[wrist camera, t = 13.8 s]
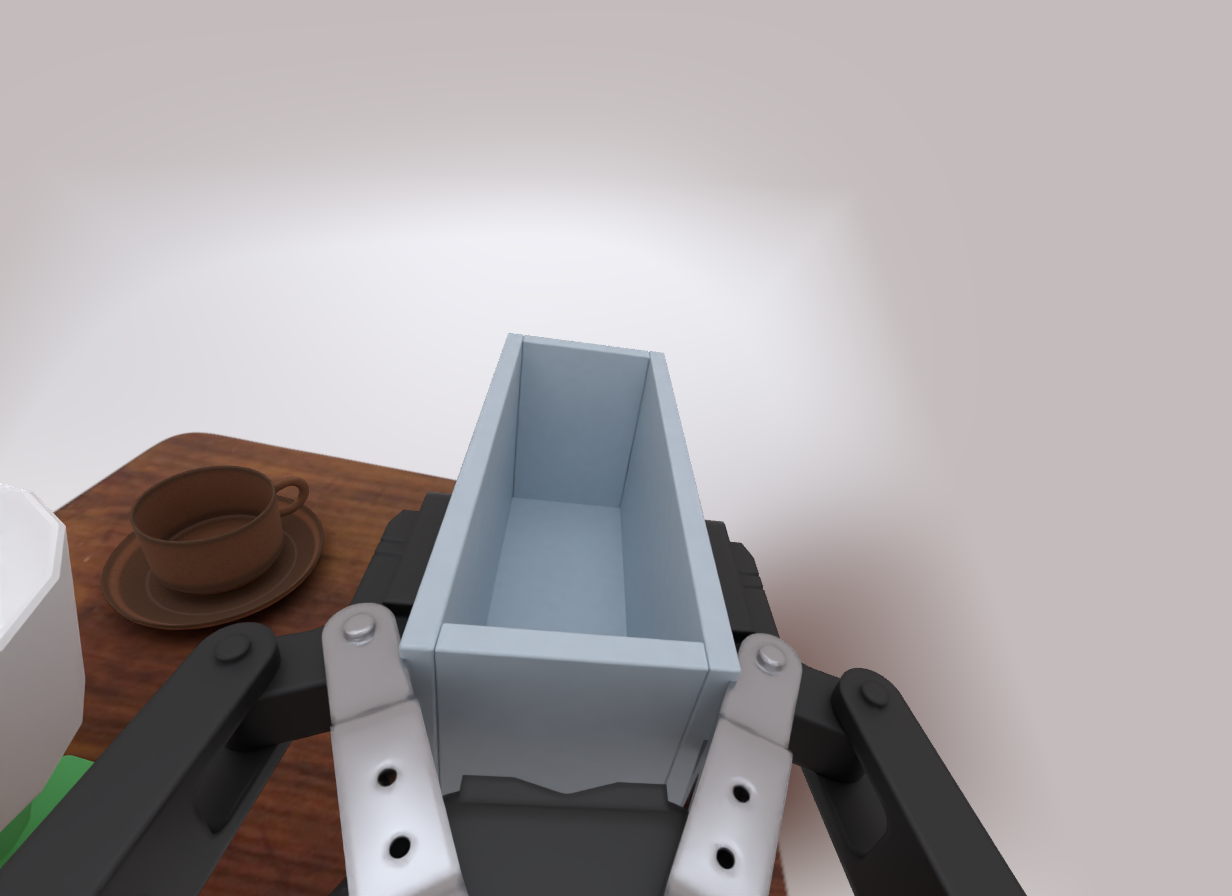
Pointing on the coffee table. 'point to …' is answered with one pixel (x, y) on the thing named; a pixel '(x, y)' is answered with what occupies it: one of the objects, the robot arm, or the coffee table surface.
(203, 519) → the cup and saucer
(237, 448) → the coffee table surface
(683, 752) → the bin
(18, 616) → the cup
